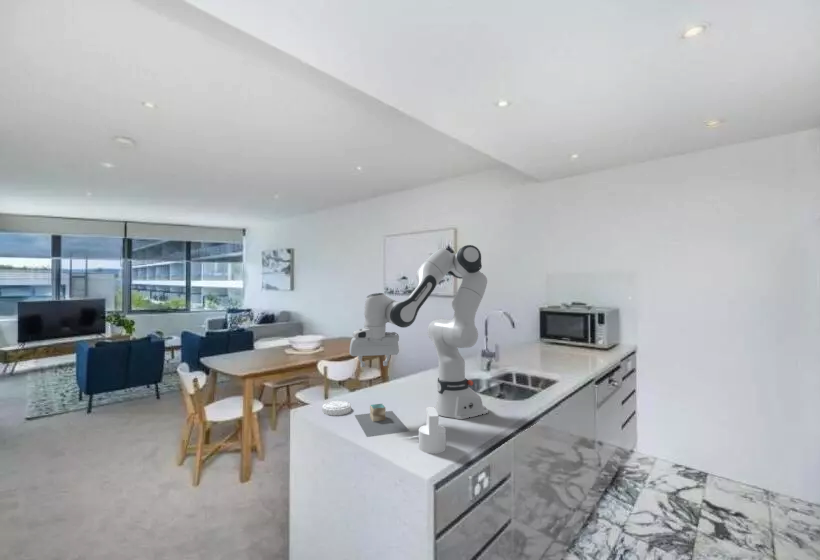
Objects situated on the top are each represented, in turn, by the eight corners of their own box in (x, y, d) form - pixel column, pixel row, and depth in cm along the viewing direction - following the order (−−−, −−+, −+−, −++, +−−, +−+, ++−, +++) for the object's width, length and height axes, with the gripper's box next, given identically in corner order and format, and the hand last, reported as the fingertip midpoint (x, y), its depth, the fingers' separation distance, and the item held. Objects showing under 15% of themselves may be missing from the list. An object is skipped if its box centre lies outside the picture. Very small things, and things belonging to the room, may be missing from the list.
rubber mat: (391, 412, 162) (391, 410, 162) (409, 432, 140) (409, 431, 140) (354, 416, 156) (354, 415, 156) (366, 438, 135) (366, 436, 135)
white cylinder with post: (417, 442, 132) (417, 407, 132) (443, 441, 132) (443, 406, 132) (420, 453, 123) (420, 416, 123) (447, 453, 123) (447, 416, 123)
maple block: (382, 415, 156) (382, 403, 156) (385, 420, 151) (385, 407, 151) (370, 417, 154) (370, 404, 154) (373, 421, 149) (373, 408, 149)
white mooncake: (356, 411, 164) (356, 402, 164) (337, 419, 154) (337, 410, 154) (336, 406, 170) (336, 398, 170) (316, 414, 160) (316, 405, 160)
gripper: (396, 331, 164) (396, 363, 164) (349, 332, 157) (348, 365, 157) (401, 332, 158) (400, 366, 158) (351, 334, 151) (350, 369, 151)
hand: (374, 366), depth 157 cm, fingers open, 8 cm apart
